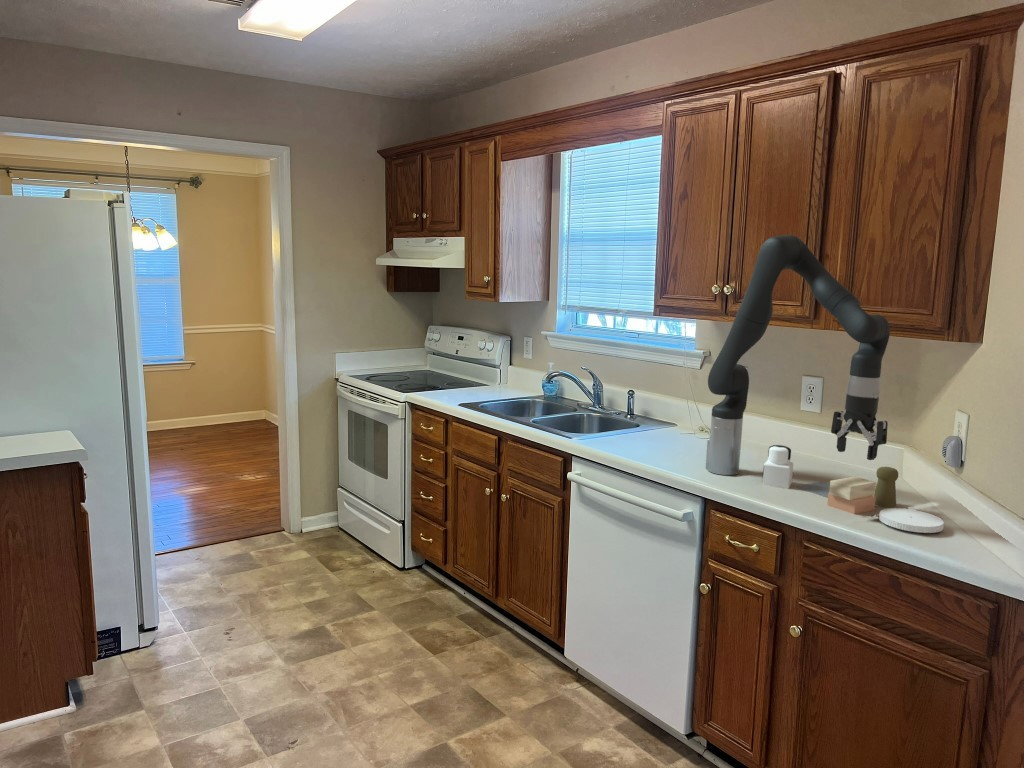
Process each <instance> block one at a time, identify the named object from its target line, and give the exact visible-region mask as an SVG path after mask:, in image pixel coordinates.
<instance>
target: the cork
mask: <svg viewBox="0 0 1024 768" xmlns="http://www.w3.org/2000/svg"><path fill="white" fill-rule="evenodd" d="M876 477H877V482H876V487H875V495H874V496H875V497H876V498H875V506H876V507H881V508H884V509H888V508H889V509H890V508H897V494H896V493H897V491H896V490H897V489H896V482H897V480H898V479H899V471H898V470H897V469H896V468H894V467H889V466H880V467H878V468H877V469H876Z"/></svg>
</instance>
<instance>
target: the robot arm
mask: <svg viewBox="0 0 1024 768" xmlns="http://www.w3.org/2000/svg"><path fill="white" fill-rule="evenodd" d="M785 270H791V271H793V272H795V273H796V274H798V275H799V276H800V277H802V278H803V279H804V280H805V281H806V283H807V284H808V286H809V288H810V290H811V292H812V294H813V296H814V298H815V299H816V301H817V302H818V304H820V305H821V306H822V307H823V308H824V309H825V310H826V311H827V312H828V313H830V314H831V315H832V316H833V318H835V319H837V322H839V324H840V326H841V327H842V328H843V329H844V331H845V332H846V333H847V334H848V336H849V337H851V338H852V339H853V340H855V341H856V342H857V343H859V347H858V349H857V351H856V352H855V353H853V354H852V357H851V359H850V367H849V369H850V370H849V377H848V381H847V385H846V386H847V387H846V393H845V395H846V396H845V404H844V405H845V406H844V410H845V412H844V411H843V410H837V411H834V412H833V417H832V422H831V429H830V432H831V434H833V435H835V436H836V437H837V439H836V449H837V452H839V453H844V452H845V451H846V447H847V436H848V435H849V433H851V432H852V433H857V434H860V435H863V438H865V439H866V440H867V442H868V444H869V445H867V446H868V447H867V454H866V455H867V456H866V459H867V460H868V461H874V460H875V459H876V458H877V457H878V451H879V450H878V447H879V446H881V445H886V444H887V439H888V425H889V424H888V421H887V420H877V416H876V415H877V413H878V408H879V400H880V390H881V372H882V361H883V357H884V355H885V352H886V349H887V346H888V344H889V339H890V335H891V327H890V323H889V321H888V320H887V318H886V317H884V316H883V315H880V314H868V313H867V312H866V311H865V310H864V309H863V308H862V307H861V301H860V300H859V299H858V297H856V295H854V294H853V293H852V292H851V291H850V290H848V289H847V288H846V287H845V286H844V285H842V283H841V282H840V281H838V280H837V279H836V278H835V277H834V276H833V275H832V274H831V273H830V272H829V271H828V270H827V268H826V267H825V266H824V265H823V264H822V263H821V261H820V260H819V259H818V258H817V257H816V256H815V255H814V254H813V252H812V251H811V250H810V248H809V247H808V246H807V244H805V242H804V241H803V240H802V239H801V238H800V237H798V236H796V235H794V234H783V235H774V236H771V237H769V238H768V239H766V240H765V241H764V242H763V243H762V245H761V246H760V249H759V251H758V254H757V257H756V261H755V266H754V268H753V271H752V272H753V273H752V274H751V275H752V276H751V278H750V281H749V283H748V286H747V288H746V291H745V294H744V297H743V299H742V301H741V302H740V303H741V304H740V306H739V307H738V310H737V312H736V314H735V317H734V320H733V322H732V325H731V328H730V330H729V332H728V335H727V336H726V340H725V341H724V343H723V346H722V347H721V350H720V351H719V353H718V355H717V356H716V359H715V361H714V362H713V364H712V366H711V368H710V370H709V374H708V377H707V385H708V390H709V391H710V392H711V393H712V394H714V395H718V396H724V398H723V400H721V401H720V402H718V403H717V404H715V405H713V406H712V408H711V417H710V418H711V419H710V433H709V438H708V439H707V440H706V441H707V442H706V454H705V455H706V457H705V458H706V459H705V469H706V470H707V471H708V472H710V473H713V474H716V475H724V476H735V475H738V474H739V472H740V460H741V450H742V449H741V448H742V438H743V437H742V434H743V433H742V432H743V424H744V423H743V421H744V413H745V411H746V408H747V402H748V395H749V387H750V377H749V375H750V374H749V371H748V369H747V367H745V365H742V364H738V362H739V361H740V359H741V358H742V357H743V356H744V355H745V354H746V353H747V352H748V351H749V350H750V349H752V348H753V347H754V346H755V345H756V344H757V343H758V342H759V341H761V339H762V337H763V336H764V335H765V333H766V330H767V328H768V326H769V325H770V322H771V319H772V316H773V312H774V309H773V308H774V305H773V292H774V288H775V285H776V283H777V280H778V278H779V276H780V275H781V273H782V272H783V271H785ZM843 420H844V421H845V424H843ZM875 428H876V429H875Z"/></svg>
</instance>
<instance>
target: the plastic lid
mask: <svg viewBox="0 0 1024 768" xmlns="http://www.w3.org/2000/svg"><path fill="white" fill-rule="evenodd" d="M878 514H879V515H878V517H879V518H878V520H879V521H880V523H883V524H885V525H887V526H889V527H891V528H895V529H898V530H902V531H907V532H914V533H924V534H931V533H932V534H933V533H939V532H942V531H943V530H944V524H945V522H944V520H943V519H942V518H940V517H939V516H936V515H934V514H932V513H928V512H925V511H920V510H915V509H910V508H899V507H894V508H884V509H881V510H880V511H879V513H878Z"/></svg>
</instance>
